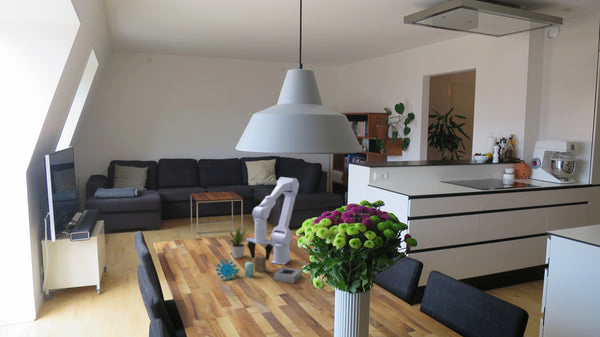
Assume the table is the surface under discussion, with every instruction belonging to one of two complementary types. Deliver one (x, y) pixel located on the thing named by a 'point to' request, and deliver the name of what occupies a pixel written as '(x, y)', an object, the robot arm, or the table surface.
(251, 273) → the round dowel
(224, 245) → the table surface
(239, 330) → the table surface
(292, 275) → the socket block
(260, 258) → the square bit
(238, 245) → the house plant
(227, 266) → the blue virus model
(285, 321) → the table surface
